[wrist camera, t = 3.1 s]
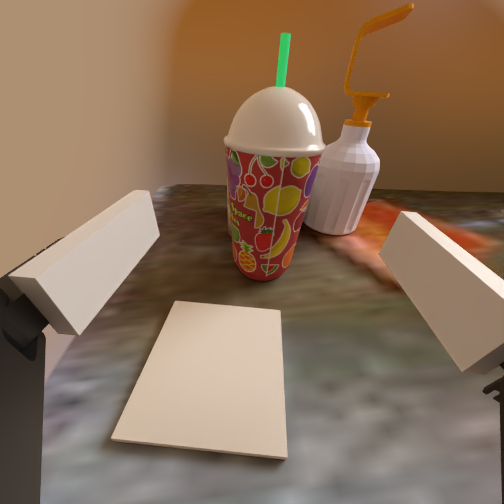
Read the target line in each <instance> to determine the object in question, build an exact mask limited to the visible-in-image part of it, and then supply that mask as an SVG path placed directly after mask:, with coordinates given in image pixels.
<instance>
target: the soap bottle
mask: <svg viewBox="0 0 504 504" xmlns="http://www.w3.org/2000/svg"><path fill="white" fill-rule="evenodd" d="M413 6H414V3H411V4H407V5H405V6H402V7H400V8H397V9H394V10H392V11H390V12H387V13H384V14H382V15H379V16H377V17H374V18H372V19H370V20H369V21H368V22H366V23H365V24H364V25H363V27H362V28H361V29H360V31H359V33H358V36H357V38H356V41H355V44H354V47H353V51H352V55H351V59H350V63H349V67H348V71H347V75H346V79H345V83H344V92H345V94H346V95H348V96H354V98H353V102H352V105H356V107H355V111H354V114H353V118H352V120H345V123H344V126H343V129H342V133H341V137H340V138H339V140H337V141H336V142H334V143H332V144H329V145H328V146H326V147H325V150H324V152H323V153H322V157H321V161H320V164H319V168H318V171H317V174H316V178H315V181H314V185H313V188H312V191H311V195H310V198H309V201H308V205H307V208H306V212H305V215H304V218H303V222H304V223H305V224H306V225H307V226H308V227H310V228H311V229H313V230H316V231H318V232H321V233H325V234H330V235H345V234H350V233H351V232H353V231H354V230H355V229H356V227H357V224H358V222H359V219H360V217H361V214H362V212H363V209H364V207H365V204H366V202H367V199H368V197H369V195H370V192H371V190H372V187H373V185H374V182H375V180H376V177H377V175H378V172H379V168H380V160H379V158H378V156H377V155H376V153H375V152H374V151H373V150H372V149H371V148H370V147H369V146H368V144H367V143H366V139H367V136H368V133H369V130H370V127H371V123H372V122H368V121H365V120H366V118H367V115H368V112H369V108H370V106H373V107H375V105H376V101H377V99H378V98H389V95H390V94H388V93H372V92H357V91H352V90H351V89H350V86H349V83H350V76H351V72H352V68H353V64H354V60H355V56H356V53H357V49H358V45H359V42H360V40H361V39H362V38H363V37H364V36H365V35H367V34H369V33H372V32H374V31H377V30H379V29H382V28H384V27H387V26H389V25H392V24H395V23H397V22H400V21H402V20H403V19H405V18H406V17H407V16H408V14H409V13H410V12H411V11H412V10H413Z"/></svg>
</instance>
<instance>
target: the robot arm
mask: <svg viewBox="0 0 504 504" xmlns="http://www.w3.org/2000/svg"><path fill="white" fill-rule="evenodd" d="M159 236H160V234H159V230H158V226H157V222H156V218H155V213H154V209H153V205H152V201H151V197H150V193H149V191H143V190H134V191H132V192H131V193H129V194H128V195H126V196H125V197H123V198H122V199H120V200H119V201H117V202H116V203H114V204H113V205H112V206H110V207H109V208H107V209H106V210H104V211H103V212H102V213H100V214H98V215H97V216H95V217H94V218H92V219H91V220H89V221H88V222H86V223H85V224H83V225H82V226H80V227H79V228H78V229H76V230H75V231H73V232H72V233H70V234H69V235H67V236H65V237H63V238H61V239H58V240H57V241H55V242H54V243H52V244H51V245H49V246H48V247H47V248H46V249H43V250H42V251H40V252H39V253H37V255H36V256H33V257H31V258H30V259H28V260H27V261H25V262H24V263H22V264H21V265H19V266H18V267H16V268H15V269H13V270H12V271H10V272H9V273H7V274H6V275H4V276H3V277H1V278H0V504H40V485H41V457H42V429H43V402H44V374H45V346H46V345H45V344H46V338H45V335H44V333H42V330H43V329H44V328H45V327H46V326H47V325H48V324H50V325H51V326H52V327H53V328H54V329H55V331H56V332H57V333H58V334H68V335H78V336H80V334H81V333H82V332H83V331H84V329H85V328H86V327H87V326H88V324H89V323H90V322H91V321H92V319H93V318H94V317H95V316H96V314H97V313H98V312H99V311H100V309H101V308H102V307H103V306H104V304H105V303H106V302H107V301H108V299H109V298H110V297H111V296H112V294H113V293H114V292H115V291H116V289H117V288H118V287H119V286H120V285H121V283H122V282H123V281H124V280H125V278H126V277H127V276H128V275H129V273H130V272H131V271H132V270H133V268H134V267H135V266H136V265H137V263H138V262H139V261H140V260H141V258H142V257H143V256H144V255H145V253H146V252H147V251H148V250H149V248H150V247H151V246H152V245H153V243H154V242H155V241H156V240H157V238H158V237H159ZM379 255H380V257H381V258H382V260H383V261H384V262H385V264H386V265H387V267H388V268H389V270H390V271H391V272H392V274H393V275H394V277H395V278H396V279H397V281H398V282H399V284H400V285H401V287H402V288H403V289H404V291H405V292H406V294H407V295H408V296H409V298H410V299H411V301H412V302H413V304H414V305H415V306H416V308H417V309H418V311H419V312H420V314H421V315H422V316H423V318H424V319H425V321H426V322H427V323H428V325H429V326H430V328H431V329H432V331H433V332H434V333H435V335H436V336H437V338H438V339H439V341H440V342H441V343H442V345H443V346H444V348H445V349H446V350H447V352H448V353H449V355H450V356H451V358H452V359H453V360H454V362H455V363H456V365H457V366H458V367H459V369H460V370H461V372H465V373H476V374H486V373H488V372H490V371H491V370H493V369H494V368H496V367H497V366H499V365H500V366H501V367H502V368H503V369H504V280H503V279H501V278H500V277H499V276H498V275H496V274H495V273H494V272H492V271H491V270H490V269H488V268H487V267H486V266H485V265H483V264H482V263H481V262H479V261H478V260H477V259H476V258H474V257H473V256H472V255H470V254H469V253H468V252H467V251H465V250H464V249H463V248H461V247H460V246H459V245H457V244H456V243H455V242H454V241H452V240H451V239H450V238H448V237H447V236H446V235H445V234H443V233H442V232H441V231H439V230H438V229H437V228H435V227H434V226H433V225H432V224H430V223H429V222H428V221H426V220H425V219H424V218H423V217H421V216H420V215H419V214H417V213H416V212H404V211H401V212H400V214H399V216H398V218H397V220H396V222H395V224H394V226H393V227H392V229H391V231H390V233H389V235H388V237H387V239H386V241H385V243H384V245H383V247H382V248H381V250H380V252H379ZM494 390H496V391H499V392H500V394H499V395H497V396H495V397H493V399H495V400H496V401H498V402H500V431H501V475H502V504H504V376H503V377H502V378H500V379H498V380H496V381H495V382H493V383H491V384H489V385H488V386H486V387H484V389H483V391H482V392H483V393H485V394H488V393H490V392H492V391H494Z"/></svg>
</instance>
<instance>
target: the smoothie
mask: <svg viewBox="0 0 504 504" xmlns="http://www.w3.org/2000/svg"><path fill="white" fill-rule="evenodd" d="M290 37H291V34H289V33H282V34H281V40H280V50H279V60H278V70H277V80H276V87H268V88H266V89H263V90H261V91H259V92H257V93H255V94H254V95H252V96H251V97H250V98H248V99H247V100H246V101H245V102H244V103H243V105H242V106H241V107H240V108H239V110H238V112H237V113H236V115H235V117H234V119H233V122H232V125H231V127H230V130H229V133H228V135H227V136H226V137H225V138H224V143H225V145H226V163H227V177H228V191H229V205H230V219H231V232H232V246H233V258H234V261H235V264H236V265H237V266H238V267H239V270H240V271H241V272H242V274H243V275H245V276H247V277H248V278H250V279H254V280H257V281H269V280H273V279H276V278H278V277H279V276H280V275H281V274H282V273H283V272H284V271H285V270H286V269H287V268H288V267H289V265H290V262H291V259H292V255H293V252H294V249H295V245H296V242H297V238H298V235H299V232H300V228H301V225H302V222H303V218H304V215H305V212H306V208H307V205H308V201H309V198H310V195H311V191H312V188H313V185H314V181H315V178H316V174H317V171H318V168H319V164H320V161H321V157H322V153H323V152H324V150H325V147H326V146H325V144H323V142H322V134H321V127H320V122H319V120H318V117H317V114H316V112H315V110H314V108H313V107H312V105H311V104H310V103H309V102H308V100H307V99H306V98H304V97H303V96H302V95H301V94H299V93H298V92H296V91H294V90H293V89H291V88H287V87H285V79H286V71H287V62H288V54H289V44H290Z"/></svg>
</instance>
